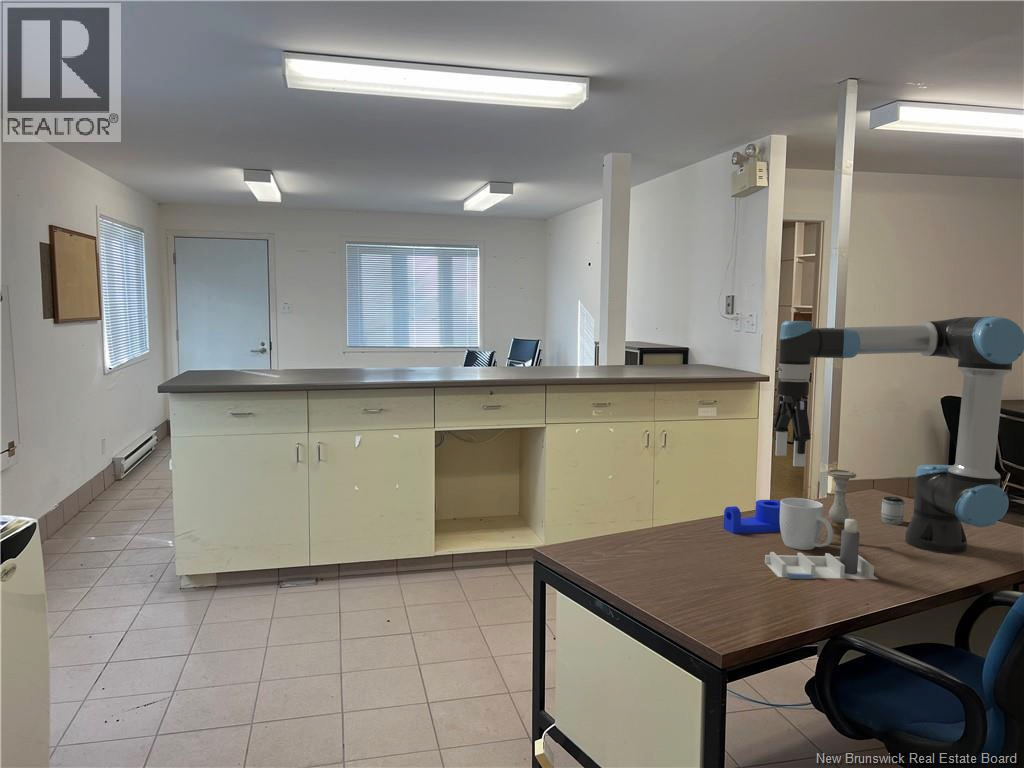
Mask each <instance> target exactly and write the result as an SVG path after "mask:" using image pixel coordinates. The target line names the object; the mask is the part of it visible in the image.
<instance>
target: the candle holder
mask: <svg viewBox="0 0 1024 768" xmlns="http://www.w3.org/2000/svg"><path fill="white" fill-rule="evenodd" d="M826 475H827V476H829V477H832V480H833V481H834V483H835V486H834V487H833V489H832V490H833V491H834V500H833V503H832V505H831V507H830V509H829V511H828V517H829V518H830V520H831V521H829V522H830V524H831V526H832V530H833V538H832V541H831V542H830V544H829V545H834V546H840V547H841V534H842V530H844V529H845V519H850V517H851V515H850V511H849V509H848V506H847V502H846V496H847V495H846V494H847V492H849V491H848V488H847V484H848V483H849V482H850V479H855V478H857V473H856V472H854V471H850V470H845V469H829V470H828V469H827V471H826ZM827 537H828V532H827V531H825V532H824V533H823V534H821V535H820V539H821V541H822V542H823V543H825V542H826V540H827Z"/></svg>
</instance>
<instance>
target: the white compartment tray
mask: <svg viewBox="0 0 1024 768" xmlns="http://www.w3.org/2000/svg"><path fill="white" fill-rule="evenodd" d="M764 556H765V557H764V564H766V566H767V567H768V568H769V569H770V570H771V571H772V572H773V573H774V574H775V575H776V576H777V578H786V579H791V580H792V579H795V580H796V579H797V580H813V579H842V580H843V579H844V580H845V579H847V580H849V579H850V580H852V579H853V580H879V578H877V577H876V576H875V575H874V573H875V565H873V564H872V563H870V561H867V560H866V559H864V558H863V556H860V554H858V568H857V574H846V573H844V571H845V565H843V564H842V563H841V562H840V556H833V555H832V554H831V553H829V552H828V553H827V552H825V554H824V555H822V556H821V555H805V554H804V553H803V552H797V555H788V554H787V555H782V554H780V555H779V554H778V555H777V554H776V553H775V552H774V551H770V552H769V554H764Z"/></svg>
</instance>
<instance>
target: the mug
mask: <svg viewBox="0 0 1024 768" xmlns="http://www.w3.org/2000/svg"><path fill="white" fill-rule="evenodd" d="M779 501H780V530H781V531H780V535H781V539H782V541H783V543H784V546H786V547H788V548H791V549H795V550H803V551H806V550H807V551H810V550H813V549H815V548H823V547H827V546H828V545H831V544H830V542H831V541H832V538H833V530H832V526H831V524H830V522H831V521H830V520H828V519H827V518H825V517H824V505H823V503H821V502H819V501H816V500H813V499H808V498H802V497H788V498H787V497H785V498H781V499H780V500H779ZM823 525H825V527H826V530H827V531H826V532H828V537H827V540H826V542H823V543H819V540H820V538H821V535H822V530H823V529H822V528H823Z"/></svg>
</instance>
